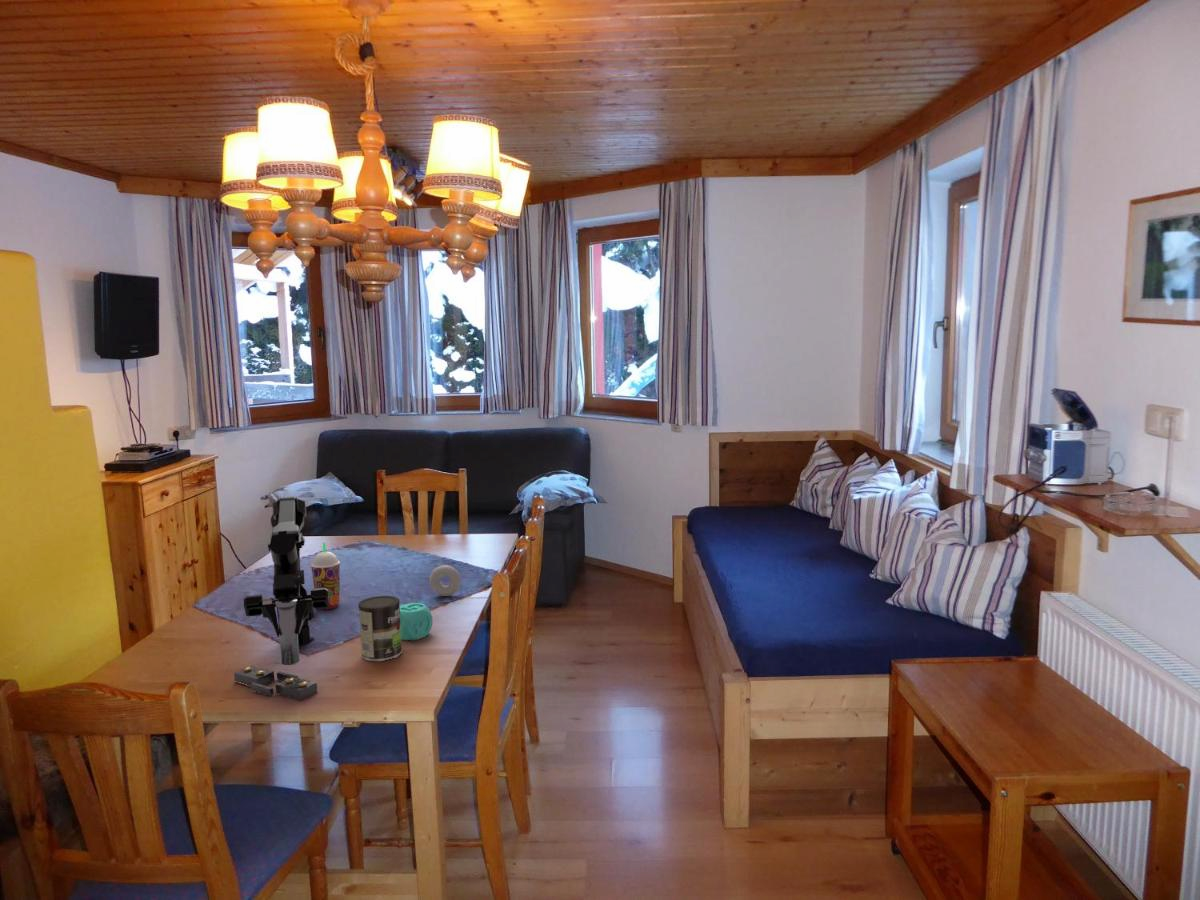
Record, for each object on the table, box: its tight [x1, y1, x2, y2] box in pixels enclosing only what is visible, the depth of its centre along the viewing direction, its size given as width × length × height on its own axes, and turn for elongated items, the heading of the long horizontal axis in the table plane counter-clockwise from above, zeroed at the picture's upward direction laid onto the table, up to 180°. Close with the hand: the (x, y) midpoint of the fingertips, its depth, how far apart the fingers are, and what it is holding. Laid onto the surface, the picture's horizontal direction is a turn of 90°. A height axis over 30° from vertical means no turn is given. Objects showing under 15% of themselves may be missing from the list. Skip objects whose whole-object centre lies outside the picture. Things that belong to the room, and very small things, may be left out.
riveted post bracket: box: [233, 664, 318, 702], centre depth 199 cm, size 22×8×3 cm, turn 61°
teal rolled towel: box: [399, 602, 434, 641], centre depth 231 cm, size 8×8×8 cm
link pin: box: [275, 598, 301, 666], centre depth 197 cm, size 5×5×15 cm
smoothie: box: [310, 542, 341, 610], centre depth 256 cm, size 8×8×20 cm
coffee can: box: [358, 595, 403, 662], centre depth 217 cm, size 10×10×14 cm
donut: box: [429, 564, 462, 597], centre depth 264 cm, size 10×4×10 cm, turn 83°
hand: (288, 634), depth 196 cm, fingers closed on link pin, 4 cm apart
